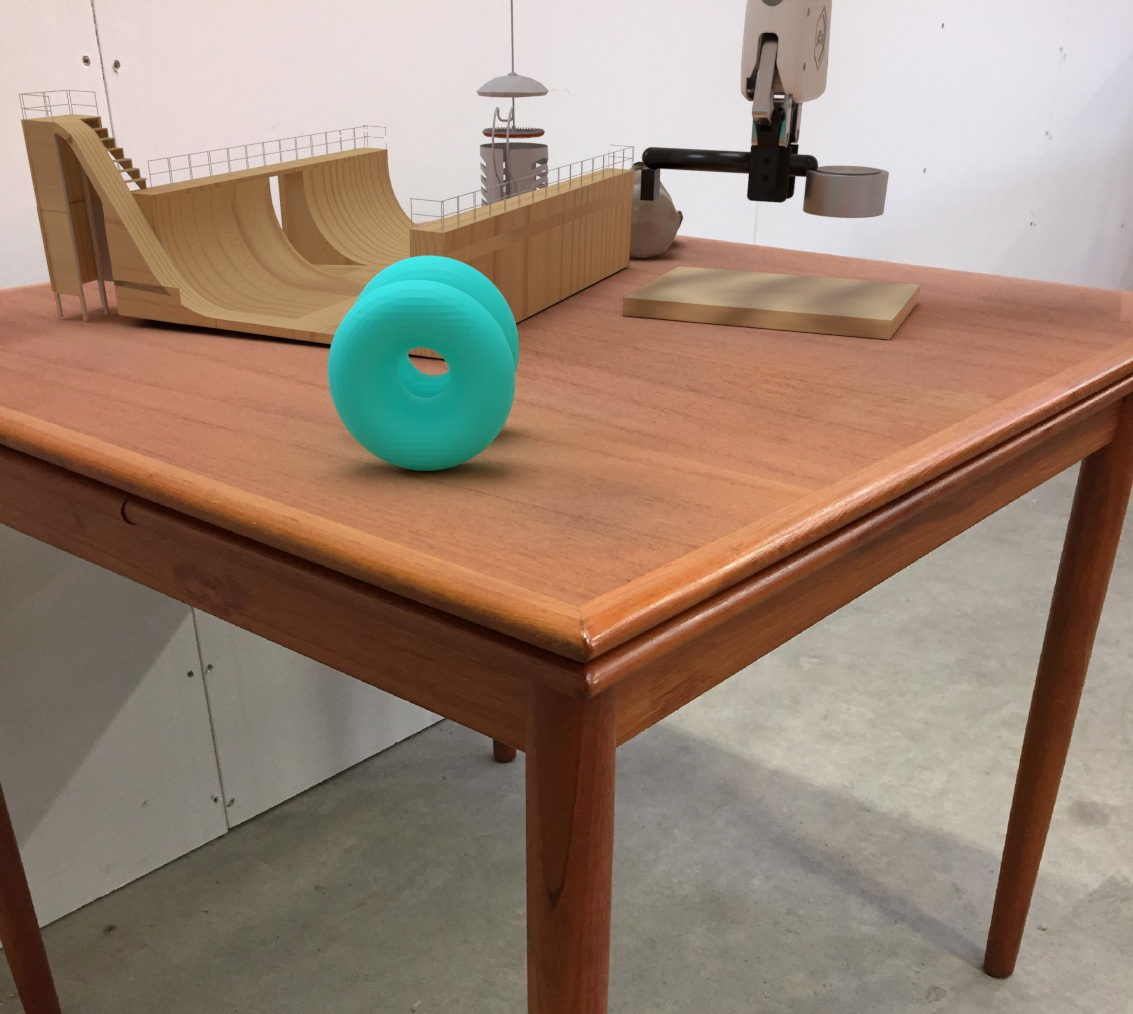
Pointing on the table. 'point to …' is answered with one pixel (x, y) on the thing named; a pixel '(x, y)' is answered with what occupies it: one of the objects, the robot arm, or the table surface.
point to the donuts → (405, 394)
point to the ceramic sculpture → (652, 220)
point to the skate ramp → (298, 234)
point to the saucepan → (824, 187)
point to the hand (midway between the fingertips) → (770, 197)
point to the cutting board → (775, 301)
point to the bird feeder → (515, 154)
